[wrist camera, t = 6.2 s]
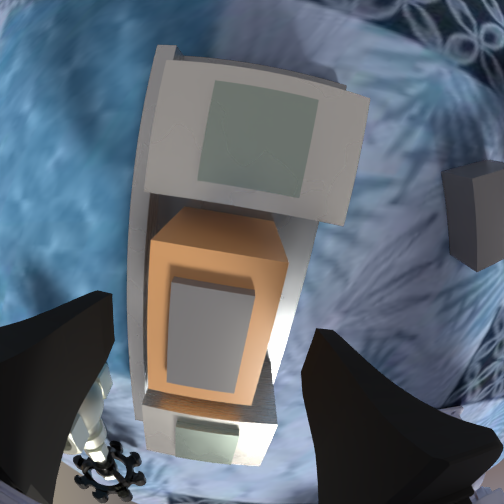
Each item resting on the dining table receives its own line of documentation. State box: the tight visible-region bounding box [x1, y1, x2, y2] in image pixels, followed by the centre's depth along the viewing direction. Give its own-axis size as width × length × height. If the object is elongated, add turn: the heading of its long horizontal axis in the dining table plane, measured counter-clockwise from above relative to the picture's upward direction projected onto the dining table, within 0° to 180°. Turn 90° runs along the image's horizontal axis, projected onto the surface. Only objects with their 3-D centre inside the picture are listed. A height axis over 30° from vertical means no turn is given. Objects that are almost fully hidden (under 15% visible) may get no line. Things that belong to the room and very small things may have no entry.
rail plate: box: [127, 45, 370, 466], centre depth 12 cm, size 8×20×6 cm, turn 170°
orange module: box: [147, 206, 289, 406], centre depth 12 cm, size 4×6×5 cm, turn 170°
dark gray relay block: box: [441, 160, 504, 272], centre depth 13 cm, size 4×5×3 cm
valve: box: [63, 363, 146, 503], centre depth 16 cm, size 7×7×12 cm
